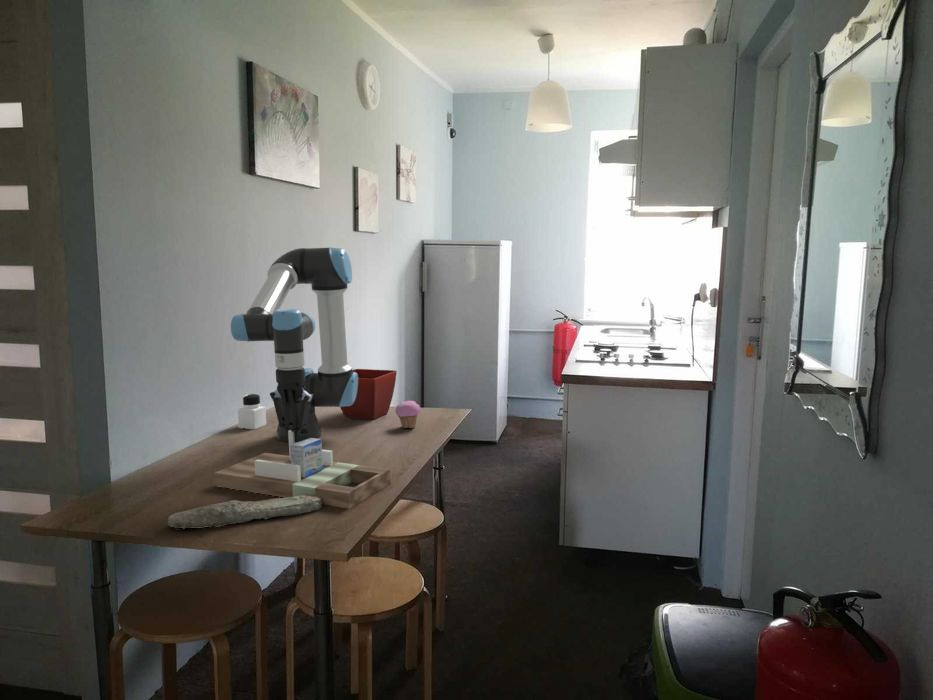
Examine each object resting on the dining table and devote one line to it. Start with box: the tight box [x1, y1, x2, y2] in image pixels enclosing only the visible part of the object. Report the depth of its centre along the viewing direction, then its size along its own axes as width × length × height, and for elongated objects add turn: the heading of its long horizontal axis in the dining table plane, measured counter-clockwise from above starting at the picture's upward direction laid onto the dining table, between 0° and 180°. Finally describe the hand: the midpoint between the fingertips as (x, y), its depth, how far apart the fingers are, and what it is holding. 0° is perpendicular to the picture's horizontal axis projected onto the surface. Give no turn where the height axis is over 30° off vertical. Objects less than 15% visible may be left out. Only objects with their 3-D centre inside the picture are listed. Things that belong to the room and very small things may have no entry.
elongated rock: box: [167, 495, 323, 530], centre depth 158 cm, size 35×5×10 cm
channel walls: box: [255, 449, 334, 482], centre depth 181 cm, size 15×14×4 cm
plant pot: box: [339, 368, 398, 421], centre depth 260 cm, size 19×19×17 cm
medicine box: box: [290, 438, 323, 478], centre depth 178 cm, size 8×4×9 cm, turn 154°
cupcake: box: [395, 400, 421, 429], centre depth 240 cm, size 9×9×10 cm
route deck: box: [214, 452, 392, 510], centre depth 180 cm, size 20×43×4 cm, turn 66°
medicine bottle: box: [237, 393, 267, 430], centre depth 245 cm, size 7×7×12 cm
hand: (294, 453), depth 181 cm, fingers closed
